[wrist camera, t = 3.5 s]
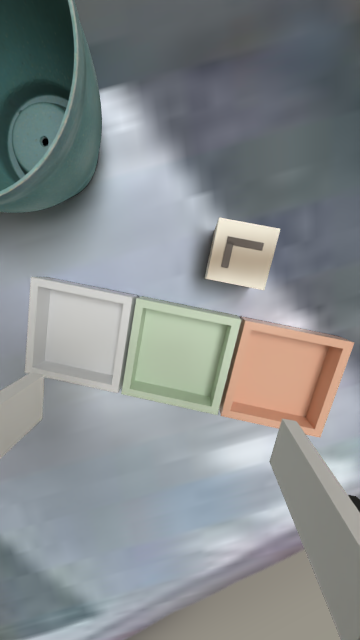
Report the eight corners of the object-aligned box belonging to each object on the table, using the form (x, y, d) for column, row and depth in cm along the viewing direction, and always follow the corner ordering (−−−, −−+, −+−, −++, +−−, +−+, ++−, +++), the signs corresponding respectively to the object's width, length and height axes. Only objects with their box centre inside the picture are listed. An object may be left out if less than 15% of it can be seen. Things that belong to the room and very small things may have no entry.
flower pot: (161, 108, 22) (126, -56, 11) (93, 262, 25) (16, 250, 14) (9, 22, 21) (-178, -233, 11) (-39, 190, 24) (-221, 122, 14)
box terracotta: (240, 316, 25) (245, 320, 22) (338, 336, 24) (354, 342, 22) (218, 403, 27) (221, 415, 24) (308, 422, 26) (320, 437, 24)
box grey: (46, 276, 25) (30, 276, 23) (138, 295, 25) (132, 297, 23) (40, 364, 27) (24, 372, 25) (124, 382, 27) (117, 393, 25)
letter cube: (214, 230, 23) (219, 217, 18) (263, 239, 23) (282, 228, 18) (204, 278, 24) (206, 278, 19) (251, 287, 24) (265, 290, 19)
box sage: (142, 296, 25) (136, 298, 23) (236, 315, 25) (241, 319, 22) (128, 383, 27) (121, 393, 25) (215, 402, 27) (217, 414, 24)
